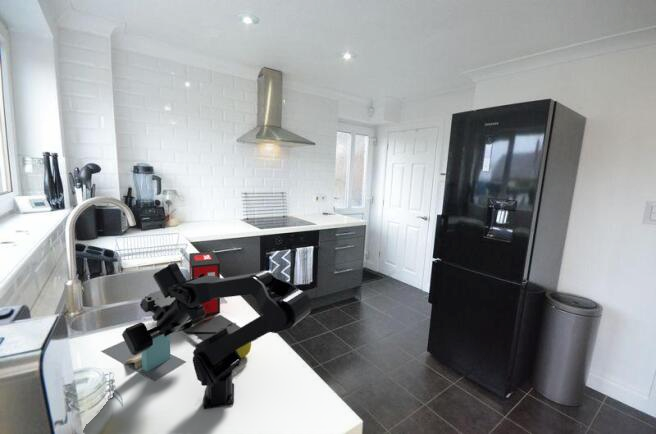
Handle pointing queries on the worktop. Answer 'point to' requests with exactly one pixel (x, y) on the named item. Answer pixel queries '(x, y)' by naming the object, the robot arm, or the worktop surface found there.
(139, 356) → the ramp
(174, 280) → the robot arm
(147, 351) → the card deck
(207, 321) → the picture frame
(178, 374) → the worktop surface
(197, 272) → the cleaning product box
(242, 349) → the lemon
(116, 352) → the mat
